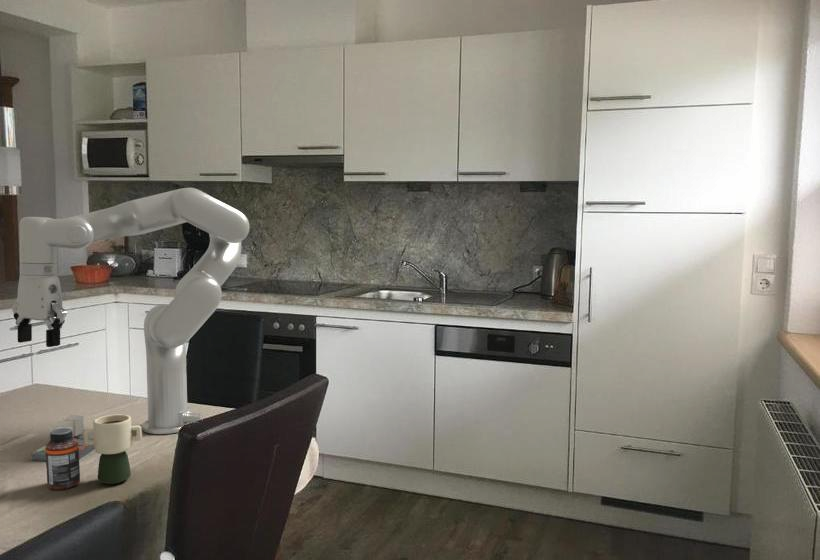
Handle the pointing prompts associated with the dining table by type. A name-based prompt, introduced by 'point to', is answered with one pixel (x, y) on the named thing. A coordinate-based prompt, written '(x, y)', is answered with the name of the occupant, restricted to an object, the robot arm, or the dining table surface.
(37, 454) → the panel
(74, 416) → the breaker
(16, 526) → the dining table surface
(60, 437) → the supplement bottle
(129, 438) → the character mug
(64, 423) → the block
